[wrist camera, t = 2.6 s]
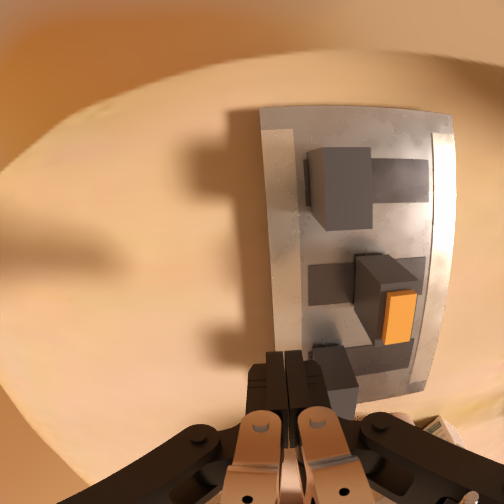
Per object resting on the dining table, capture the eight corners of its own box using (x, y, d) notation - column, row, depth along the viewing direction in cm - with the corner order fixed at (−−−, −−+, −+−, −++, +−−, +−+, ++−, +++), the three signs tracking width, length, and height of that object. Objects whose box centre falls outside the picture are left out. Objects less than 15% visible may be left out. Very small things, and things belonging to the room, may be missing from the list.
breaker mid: (388, 254, 20) (424, 284, 15) (384, 306, 21) (413, 347, 16) (356, 256, 20) (384, 288, 15) (353, 309, 21) (377, 353, 16)
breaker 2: (343, 345, 22) (359, 386, 17) (339, 384, 23) (352, 427, 18) (312, 348, 22) (322, 391, 17) (311, 387, 23) (318, 431, 18)
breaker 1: (344, 150, 18) (370, 147, 13) (347, 212, 19) (372, 228, 14) (307, 151, 18) (322, 147, 13) (311, 214, 19) (326, 231, 15)
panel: (438, 117, 19) (452, 114, 17) (416, 378, 26) (423, 391, 24) (259, 112, 20) (258, 107, 18) (277, 396, 26) (278, 412, 24)
